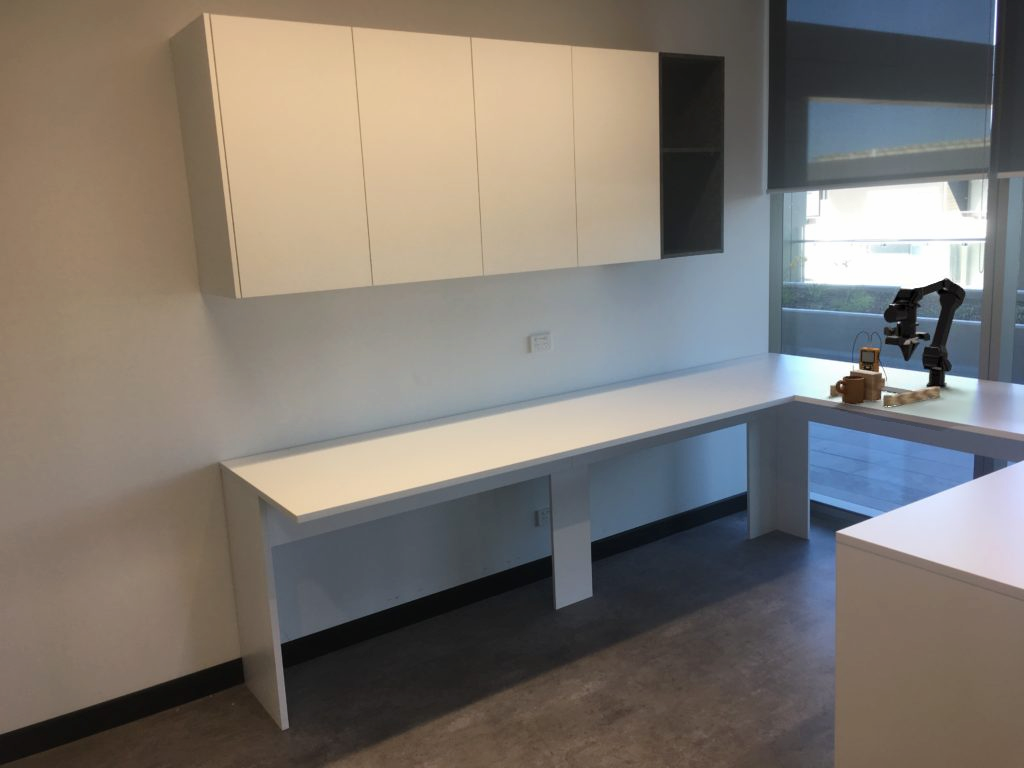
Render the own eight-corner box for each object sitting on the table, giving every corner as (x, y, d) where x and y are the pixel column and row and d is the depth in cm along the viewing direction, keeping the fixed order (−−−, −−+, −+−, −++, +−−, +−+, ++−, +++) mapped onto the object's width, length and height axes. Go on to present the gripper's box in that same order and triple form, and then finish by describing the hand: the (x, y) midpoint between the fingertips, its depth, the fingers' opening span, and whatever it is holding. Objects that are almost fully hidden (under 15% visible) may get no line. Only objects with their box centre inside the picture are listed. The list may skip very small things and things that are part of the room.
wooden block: (858, 395, 313) (859, 369, 312) (881, 399, 305) (882, 372, 303) (849, 397, 311) (850, 371, 309) (871, 401, 303) (872, 374, 301)
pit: (885, 387, 328) (885, 386, 328) (933, 395, 310) (933, 394, 309) (873, 389, 325) (873, 388, 325) (921, 398, 306) (921, 396, 306)
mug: (843, 407, 299) (844, 381, 297) (828, 403, 306) (828, 378, 304) (868, 402, 303) (869, 377, 302) (853, 399, 310) (853, 374, 308)
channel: (880, 386, 330) (880, 376, 329) (939, 396, 307) (940, 385, 307) (830, 395, 318) (830, 385, 317) (887, 407, 295) (888, 396, 294)
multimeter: (841, 380, 345) (842, 332, 341) (854, 377, 351) (855, 330, 347) (874, 384, 333) (876, 335, 330) (887, 381, 339) (889, 332, 335)
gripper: (906, 316, 324) (904, 355, 327) (873, 321, 316) (871, 361, 319) (932, 318, 314) (930, 359, 317) (898, 323, 306) (897, 365, 309)
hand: (906, 361), depth 316 cm, fingers closed
